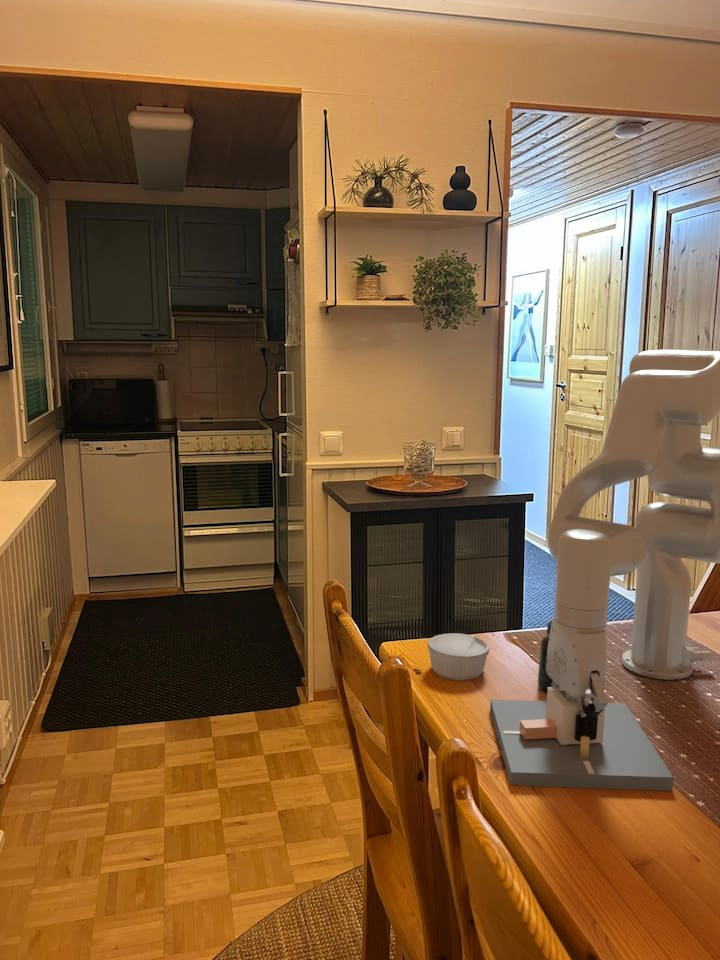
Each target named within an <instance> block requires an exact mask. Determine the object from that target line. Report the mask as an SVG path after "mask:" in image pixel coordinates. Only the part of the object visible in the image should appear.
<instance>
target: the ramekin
mask: <svg viewBox="0 0 720 960" xmlns="http://www.w3.org/2000/svg"><path fill="white" fill-rule="evenodd" d="M427 648H428V650H429V658H430V664H431V665H430V666H431V668H432V670H433V671H434V673H435V674H436V675H438V676H440V677H441V678H445V679H449V680H453V681H469V680H473V679H476V678H478V677H480V675H482V674H483V672H484V670H485V666H486V662H487V657H488V655H489V653H490V646H489V644H488V643H487V641H485V640H483V639H482V638H480V637H477V636H475V635H470V634H466V633H460V632H459V633H457V632H456V633H453V632H451V633H449V632H448V633H442V634H437V635H434V636H433V637H431V638H430V639H429V640H428V642H427Z"/></svg>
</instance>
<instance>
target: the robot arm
mask: <svg viewBox="0 0 720 960" xmlns="http://www.w3.org/2000/svg"><path fill="white" fill-rule="evenodd" d="M628 369H629V371H628V372H629V374H628V375H627V376H626V377H625V378H624V379H623V380H622V383H621V385H620V388H619V390H618V393H617V397H616V401H615V404H614V407H613V412H612V415H611V418H610V422H609V425H608V428H607V432H606V435H605V439H604V443H603V446H602V450H601V452H600V454H599V455H598V456H597V457H596V458H595V459H593V460H592V461H590V462H589V463H588V464H586V465H585V466H584V467H582V468H581V469H580V470H579V471H578V472H577V473H575V475H574V476H572V478H571V479H570V480H569V481H568V482H567V484H566V485H565V486H564V488H563V489H562V491H561V493H560V495H559V496H558V499H557V503H556V506H555V509H554V512H553V514H552V519H551V522H550V526H549V532H548V537H547V542H548V543H547V544H548V550H549V552H550V555H551V556H552V557H553V558H554V559H555V560H556V562H557V563H556V578H555V592H554V594H555V595H554V610H553V611H554V612H553V618H552V620H551V621H552V625H551V629H550V635H549V642H548V650H547V660H546V672H547V674H548V676H549V677H550V678H551V679H552V680H553V681H552V684H551V687H561V688H562V689H563V690H564V691H565V692H566V693H567V694H569V695H570V696H571V697H572V698H577V702H578V709H579V714H576V726H575V739H576V740H577V741H581V736H587V737H589V738H590V740H595V739H596V736H597V723H598V716H600V713H601V712H602V711H603V709H604V708H605V707H606V706H607V704H608V703H609V702H608V698H607V694H606V692H605V688H606V687H605V686H606V680H607V641H606V640H607V639H606V629H607V626H608V611H609V608H608V607H609V599H610V597H609V596H610V583H611V581H610V580H611V578H612V577H615V576H623V575H628V574H631V573H633V572H634V571H635V570H636V582H635V583H636V585H635V596H634V611H633V622H632V623H633V624H632V634H631V635H632V636H631V647H630V649H629V650H627V651H624V652H623V653H622V654H621V663H622V665H623V666H624V667H625V668H626V669H627V670H628V671H631V672H632V671H633V673H635V674H637V675H640V676H644V677H647V678H650V679H656V680H667V681H671V680H672V681H675V680H676V679H677V680H681V679H682V678H683V679H686V678H688V677H690V676H691V675H692V674H693V672H694V671H693V669H694V665H693V663H695V661H698V662H708V663H709V662H712V661H713V655H712V652H711V651H710V650H700V648H699V647H698V646H693V647H692V646H688V645H687V638H688V637H687V635H688V628H689V627H688V626H689V625H688V624H689V616H690V603H691V595H692V593H691V592H692V577H691V574H690V571H689V570H688V568H687V566H686V563H684V561H683V559H688V560H693V561H700V562H706V563H712V564H720V448H718V447H717V448H716V447H707V446H706V447H705V446H703V445H702V443H701V434H702V426H704V425H707V424H708V423H710V422H711V421H712V420H713V419H714V418H715V417H716V416H717V415H718V414H719V412H720V350H693V349H692V350H691V349H690V350H689V349H687V350H686V349H653V350H652V349H651V350H649V349H648V350H644V351H641V352H638V353H636V354H635V355H634V356H633V357H632V358H631V360H630V363H629V368H628ZM646 476H647V483H648V487H649V489H650V490H651V491H652V492H653V493H655V494H657V495H661V496H665V497H669V498H677V499H684V500H691V501H697V502H698V501H699V502H705V503H707V504H708V505H709V507H710V508H709V507H703V506H702V507H701V506H696V505H695V506H694V505H688V504H681V503H675V502H667V501H665V502H664V501H659V502H658V501H657V502H652V503H651V502H650V503H647V504H645V505H644V506H643V507H642V508H640V509H639V511H638V513H637V515H636V517H635V526H632V525H630V524H629V525H628V524H625V523H618V522H611V521H606V520H600V519H594V518H590V517H589V518H587V517H583V516H582V517H581V513H582V510H583V509H584V507H585V505H586V504H587V503H588V502H589V501H590V500H591V499H592V498H593V497H594V496H596V495H597V494H598V493H600V492H603V490H606V489H608V488H611V487H614V486H617V485H620V484H624V483H627V482H630V481H633V480H637V479H640V478H644V477H646ZM588 689H589V690H591V693H589V694H585V692H586V690H588ZM584 698H591V702H592V703H591V704H589V705H587V706H586V707H585V701H584Z"/></svg>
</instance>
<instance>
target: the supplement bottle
mask: <svg viewBox="0 0 720 960" xmlns="http://www.w3.org/2000/svg"><path fill="white" fill-rule="evenodd" d="M552 621H553V620H550V621H549V622H548V623H547V627H546V628H547V629H546V636H544V637H543V638H541V640H540V645H539V647H540V648H539V659H538V660H539V661H538V675H537V687H538V688H539V690H540V691H541V692H542V693H544V694H545V695H546V694H547V689H548V687H551V684H552V681H553V680H552V679H551V678H550V677H549V676H548V674H547V672H546V660H547V650H548V642H549V635H550V629H551V625H552Z"/></svg>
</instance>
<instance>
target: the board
mask: <svg viewBox="0 0 720 960" xmlns="http://www.w3.org/2000/svg"><path fill="white" fill-rule="evenodd" d="M585 694H586V693H585ZM565 698H566V700H567V701H568V702H577V698H572V697H571V696H570V695H569V694H567V693H566V695H565ZM584 701H586V698H584ZM489 705H490V707H489V708H490V709H489V712H490V715H491V719H492V722H493V727H494V730H495V733H496V737H497V740H498V744H499V747H500V748H501V749H500V751H501V755H502V759H503V762H505V763H504V766H505V765H506V767H505V769H507V770H506V774H507V773H508V774H507V777H508V776H509V778H508V780H510V781H509V785H510V784H511V785H526V786H525V787H541V786H547V787H549V788H578V789H579V788H580V789H607V790H609V789H611V790H632V791H633V790H636V791H639V790H640V791H668V792H671V791H673V787H674V776H673V774H672V773H671V771H670V770H669V768H668V767H667V765H666V763H665V762H664V760H663V759H662V757H661V756H660V754H659V752H658V751H657V750H656V748H655V747H654V745H653V743H651V740H650V739H649V738H648V736H647V735H646V733H645V732H644V730H643V728H642V727H641V726H640V724H639V722H638V721H637V719H636V718H635V716H634V715H633V713H632V712H631V710H630V709H629V707H628V706H627V704H626V703H623V702H621V703H619V702H608V704H607V706H606V707H605V719H604V732H603V743H589V742H590V738H589V737H587V736H581V744H565V745H561V744H560V743H559V741H558V740H557V739H556V738H543V739H524V738H523V736H522V734H521V733H520V720H538V719H546V706H547V700H519V699H518V700H517V699H516V700H514V699H490V703H489ZM511 785H510V786H511ZM547 787H546V788H547Z"/></svg>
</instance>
